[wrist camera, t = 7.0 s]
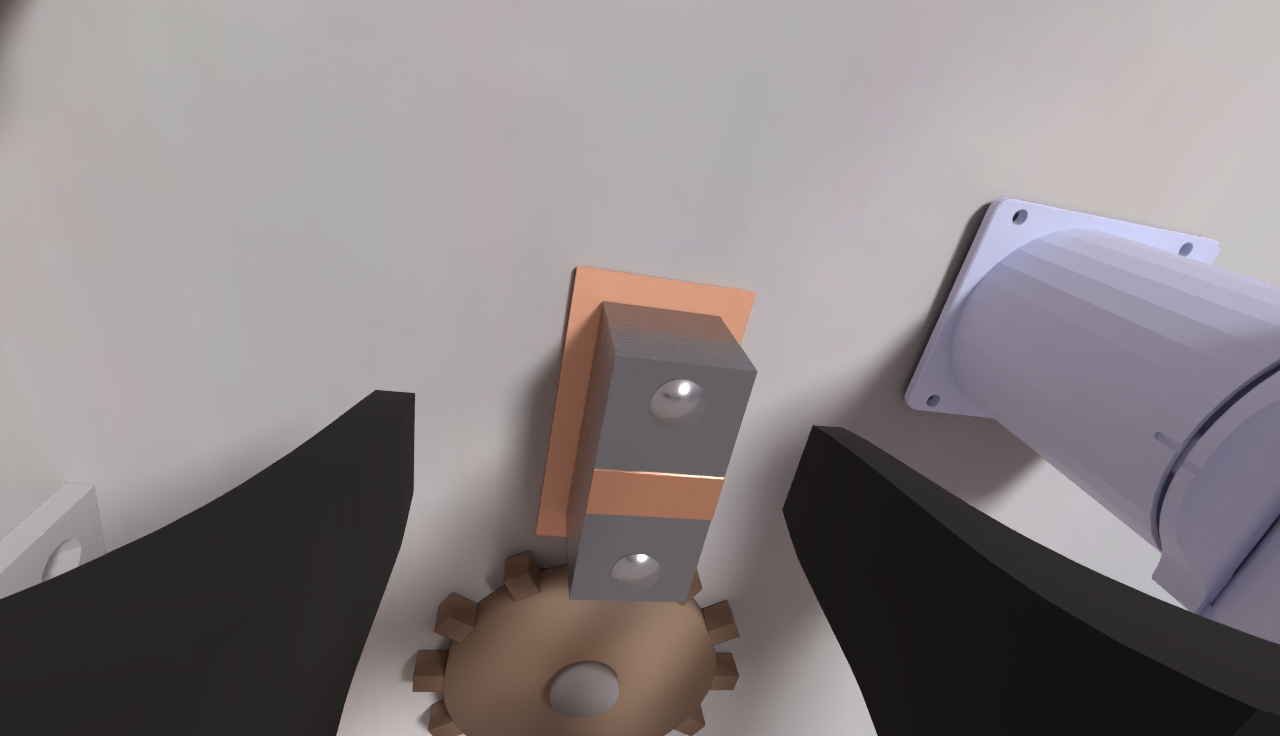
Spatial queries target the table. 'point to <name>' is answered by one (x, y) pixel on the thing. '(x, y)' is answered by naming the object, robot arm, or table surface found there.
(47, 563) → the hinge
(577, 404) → the copper rectangular plate
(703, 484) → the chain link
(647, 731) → the sprocket
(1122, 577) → the table surface
